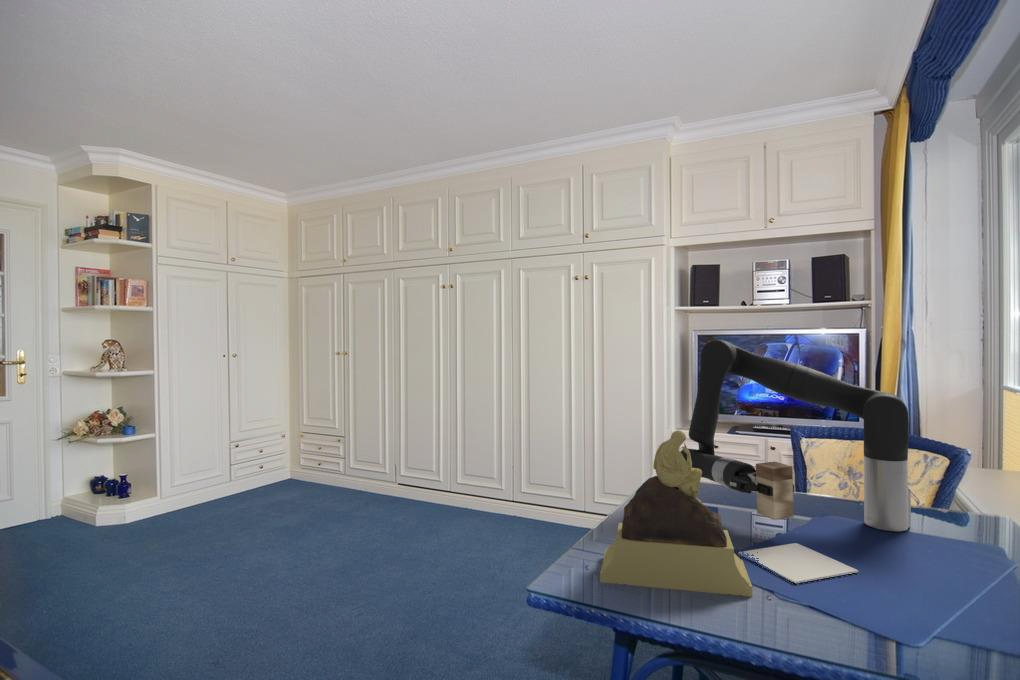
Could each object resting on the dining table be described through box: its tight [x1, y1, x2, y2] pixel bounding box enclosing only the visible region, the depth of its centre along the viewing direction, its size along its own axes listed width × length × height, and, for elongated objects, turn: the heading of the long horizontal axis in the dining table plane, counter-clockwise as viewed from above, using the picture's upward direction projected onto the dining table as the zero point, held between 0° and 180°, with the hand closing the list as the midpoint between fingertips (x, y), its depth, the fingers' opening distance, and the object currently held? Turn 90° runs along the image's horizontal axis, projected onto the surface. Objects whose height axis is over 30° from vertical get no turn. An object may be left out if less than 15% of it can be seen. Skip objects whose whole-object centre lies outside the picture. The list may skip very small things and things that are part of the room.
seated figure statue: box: [599, 429, 753, 598], centre depth 115 cm, size 28×13×30 cm, turn 75°
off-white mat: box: [738, 542, 859, 583], centre depth 120 cm, size 16×16×1 cm
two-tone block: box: [755, 461, 795, 521], centre depth 135 cm, size 6×6×12 cm
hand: (782, 490), depth 133 cm, fingers closed on two-tone block, 5 cm apart
